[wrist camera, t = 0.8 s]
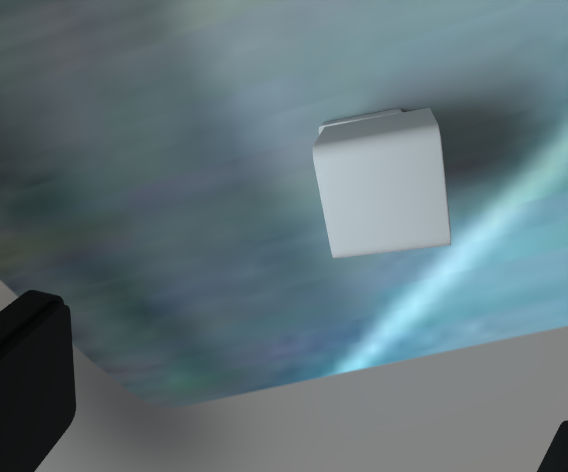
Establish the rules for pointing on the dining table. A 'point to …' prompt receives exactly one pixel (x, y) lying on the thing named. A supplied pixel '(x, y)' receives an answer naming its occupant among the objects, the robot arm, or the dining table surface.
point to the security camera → (382, 183)
